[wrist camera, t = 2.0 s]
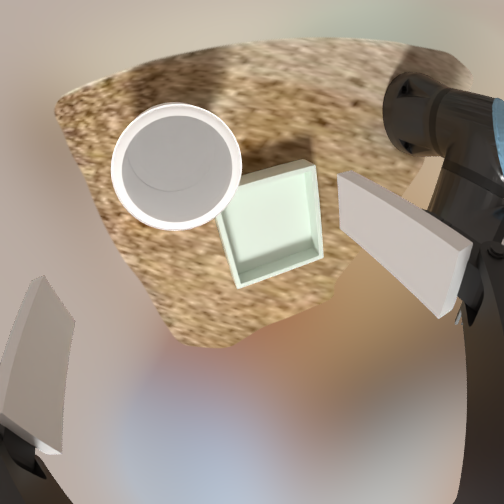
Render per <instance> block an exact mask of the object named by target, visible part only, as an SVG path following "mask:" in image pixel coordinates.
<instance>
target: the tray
mask: <svg viewBox="0 0 504 504" xmlns="http://www.w3.org/2000/svg"><path fill="white" fill-rule="evenodd" d="M215 221H216V225H217V228H218V232H219V235H220V239H221V242H222V245H223V249H224V252H225V255H226V259H227V262H228V265H229V269H230V272H231V275H232V278H233V280H234V282H235V285H236V287H237V289H239V288H242V287H245V286H248V285H251V284H253V283H256V282H259V281H262V280H264V279H267V278H270V277H273V276H276V275H278V274H281V273H284V272H286V271H289V270H292V269H295V268H297V267H300V266H303V265H305V264H308V263H311V262H313V261H316V260H319V259H321V258H323V242H322V228H321V216H320V204H319V194H318V184H317V174H316V165H315V164H313V163H311V162H309V161H307V160H305V159H301V160H297V161H293V162H289V163H285V164H281V165H278V166H274V167H270V168H266V169H263V170H259V171H256V172H252V173H249V174H245V175H242V176H241V179H240V183H239V186H238V189H237V191H236V193H235V195H234V197H233V199H232V200H231V202H230V203H229V204H228V206H227V207H226V208H225V209H224V210H223V211H222V212H221V213H220V214H219V215H218V216H216V217H215Z"/></svg>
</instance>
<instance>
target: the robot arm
mask: <svg viewBox="0 0 504 504" xmlns="http://www.w3.org/2000/svg"><path fill="white" fill-rule="evenodd" d="M383 120H384V126H385V129H386V132H387V135H388V137H389V139H390V141H391V142H392V144H393V145H394V146H395V147H396V148H397V149H398V150H400V151H402V152H404V153H407V154H409V155H412V156H417V157H425V156H441V157H443V158H445V159H444V162H443V165H442V168H441V171H440V175H439V178H438V181H437V184H436V187H435V190H434V193H433V196H432V198H431V201H430V204H429V206H428V209H427V210H424V209H420V208H419V207H417V206H415V205H414V204H412V203H410V202H409V201H407V200H405V199H404V198H402V197H400V196H398V195H397V194H395V193H393V192H391V191H390V190H388V189H386V188H384V187H382V186H380V185H379V184H377V183H375V182H373V181H371V180H369V179H367V178H365V177H363V176H362V175H360V174H358V173H356V172H354V171H352V170H350V171H347V172H343V173H339V174H337V181H338V197H339V216H340V229H341V230H342V231H343V232H345V233H346V234H347V235H348V236H349V237H350V238H352V239H353V240H354V241H355V242H356V243H357V244H359V245H360V246H361V247H362V248H363V249H364V250H366V251H367V252H368V253H369V254H370V255H372V256H373V257H374V258H375V259H376V260H377V261H378V262H379V263H381V265H383V266H384V267H385V268H386V269H387V270H388V271H389V272H390V273H391V274H392V275H393V276H395V277H396V278H397V279H398V280H399V281H400V282H401V283H402V284H403V285H404V286H405V287H406V288H407V289H408V290H410V291H411V292H412V293H413V294H414V295H415V296H416V297H417V298H418V299H419V300H420V301H421V302H422V303H423V304H424V305H425V306H426V307H427V308H428V309H429V310H430V311H431V312H432V313H433V314H434V315H435V316H436V317H437V318H438V319H439V318H441V317H442V316H444V315H445V314H446V313H448V312H449V311H451V310H452V309H453V307H454V304H455V301H456V298H457V296H458V297H459V298H460V299H461V300H462V304H461V307H460V309H459V312H458V314H457V317H456V319H455V324H458V322H459V319H460V317H461V316H462V323H461V325H463V331H464V340H465V352H466V369H467V423H466V437H465V449H464V459H463V467H462V473H461V479H460V485H459V490H458V495H457V498H456V500H455V502H454V503H453V504H504V101H503V100H501V99H499V98H492V97H489V96H484V95H480V94H476V93H471V92H468V91H463V90H458V89H453V88H448V87H447V86H445V85H443V84H442V83H440V82H438V81H436V80H434V79H433V78H431V77H429V76H427V75H424V74H421V73H413V72H407V73H403V74H401V75H399V76H398V77H396V78H395V79H394V80H393V81H392V83H391V84H390V86H389V88H388V90H387V92H386V95H385V99H384V105H383ZM448 170H449V171H448ZM74 326H75V320H74V319H73V317H72V316H71V314H70V313H69V312H68V310H67V309H66V307H65V306H64V304H63V303H62V302H61V300H60V299H59V297H58V296H57V294H56V293H55V291H54V290H53V288H52V287H51V285H50V284H49V282H48V280H47V279H46V277H45V276H44V275H43V276H41V277H38V278H36V279H34V280H32V281H31V283H30V285H29V288H28V290H27V292H26V294H25V297H24V299H23V301H22V304H21V306H20V309H19V311H18V314H17V316H16V319H15V321H14V324H13V327H12V330H11V333H10V335H9V338H8V341H7V344H6V347H5V351H4V353H3V357H2V360H1V363H0V504H73V503H72V502H71V501H70V499H69V498H68V497H67V495H66V494H65V493H64V491H63V490H62V489H61V487H60V486H59V484H58V483H57V482H56V480H55V479H54V477H53V476H52V475H51V473H50V472H49V470H48V469H47V467H46V466H45V464H44V462H43V461H42V460H41V459H40V457H38V456H37V455H35V448H37V449H38V450H40V451H42V452H44V453H45V454H48V455H49V454H62V430H63V410H64V397H65V386H66V377H67V369H68V362H69V355H70V348H71V342H72V336H73V331H74Z"/></svg>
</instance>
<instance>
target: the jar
mask: <svg viewBox="0 0 504 504" xmlns="http://www.w3.org/2000/svg"><path fill="white" fill-rule="evenodd" d="M241 173H242V158H241V152H240V149H239V145H238V143H237V140H236V138H235V136H234V135H233V133H232V132H231V130H230V129H229V128H228V126H227V125H226V124H225V123H224V122H223V121H222V120H221V119H220V118H218V117H217V116H216V115H214V114H212V113H211V112H209V111H207V110H205V109H202V108H200V107H196V106H194V105H191V104H187V103H181V102H168V103H162V104H159V105H156V106H153V107H151V108H149V109H147V110H145V111H144V112H142V113H141V114H140V115H139V116H137V117H136V118H135V119H134V120H133V121H132V123H131V124H130V125H129V126H128V127H127V128H126V129H125V130H124V132H123V133H122V134H121V136H120V138H119V140H118V141H117V144H116V146H115V149H114V152H113V156H112V161H111V177H112V183H113V186H114V190H115V192H116V194H117V197H118V198H119V200H120V202H121V203H122V205H123V206H124V207H125V209H126V210H127V211H128V212H129V213H130V214H131V215H132V216H134V217H135V218H136V219H138V220H139V221H141V222H143V223H145V224H147V225H149V226H151V227H154V228H158V229H162V230H170V231H179V230H187V229H192V228H195V227H198V226H201V225H203V224H205V223H207V222H209V221H210V220H212V219H214V218H215V217H216V216H218V215H219V214H220V213H221V212H222V211H223V210H224V209H225V208H226V207H227V206H228V204H229V203H230V202H231V200H232V199H233V197H234V195H235V193H236V191H237V189H238V186H239V183H240V179H241Z"/></svg>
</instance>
